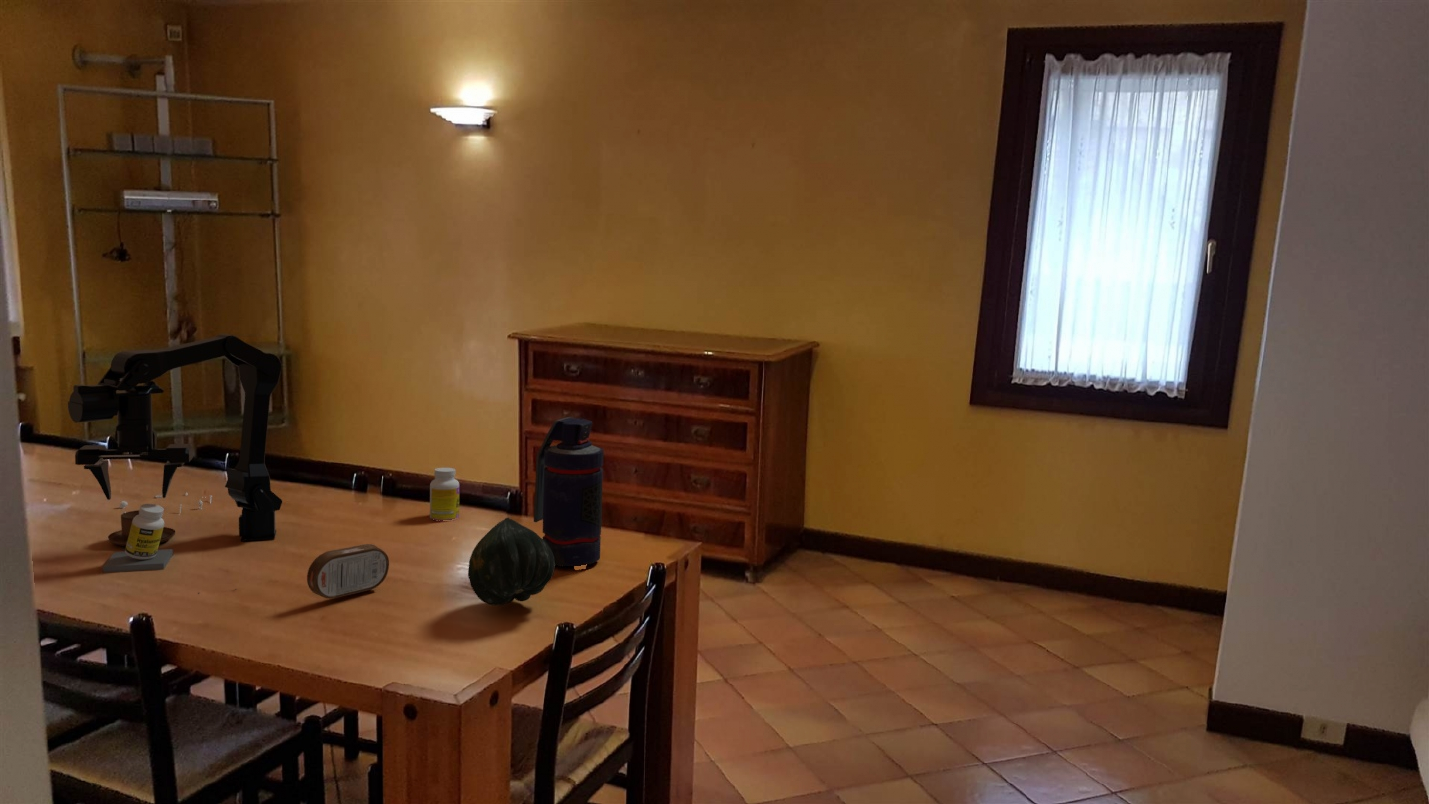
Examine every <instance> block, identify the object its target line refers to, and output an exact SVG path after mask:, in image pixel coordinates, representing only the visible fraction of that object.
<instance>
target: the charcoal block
mask: <svg viewBox="0 0 1429 804" xmlns="http://www.w3.org/2000/svg"><path fill="white" fill-rule="evenodd" d="M173 555H174V549H173V548H169V549H167V548H165V549H158V550H157V554H156V556H155V557H153V558H151V559H135V558H132V557H130V556H128V555H127V554H126V553H125V550H124V551H115V552H114V553H113V554H111V556H110V557H109V559H107V561H106V562H105V564H103V566H102V573H104V574H107V573H121V572H123V573H125V572H139V571H140V572H141V571H143V572H144V571H158V570H159V571H163V570H165V568H166V566H167V565H168V564H169V562H170V560H171V559H172V557H173Z"/></svg>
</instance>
